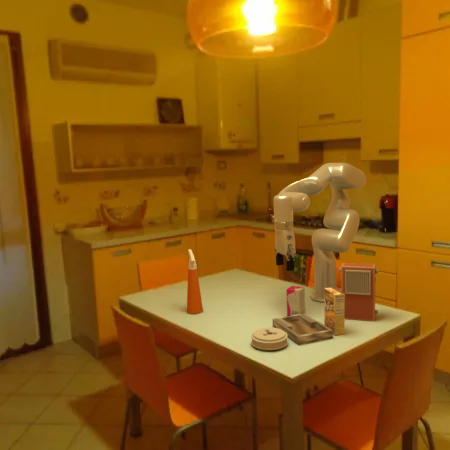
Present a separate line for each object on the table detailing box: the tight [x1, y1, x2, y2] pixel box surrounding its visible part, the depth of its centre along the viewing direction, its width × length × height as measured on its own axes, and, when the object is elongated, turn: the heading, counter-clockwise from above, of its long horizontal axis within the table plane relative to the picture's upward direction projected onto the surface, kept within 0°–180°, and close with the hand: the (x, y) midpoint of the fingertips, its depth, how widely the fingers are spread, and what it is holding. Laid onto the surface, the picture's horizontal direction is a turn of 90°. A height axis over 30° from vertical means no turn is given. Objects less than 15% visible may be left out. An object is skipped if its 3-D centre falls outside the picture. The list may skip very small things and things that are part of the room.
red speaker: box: [338, 262, 380, 322], centre depth 186 cm, size 21×7×15 cm
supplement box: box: [286, 285, 306, 316], centre depth 193 cm, size 6×6×12 cm
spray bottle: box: [186, 248, 204, 315], centre depth 203 cm, size 7×11×26 cm, turn 14°
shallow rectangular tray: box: [272, 312, 334, 346], centre depth 175 cm, size 14×20×3 cm
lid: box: [250, 326, 289, 351], centre depth 165 cm, size 13×13×5 cm
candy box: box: [323, 287, 346, 336], centre depth 174 cm, size 9×4×15 cm, turn 15°
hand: (285, 267), depth 191 cm, fingers open, 9 cm apart
